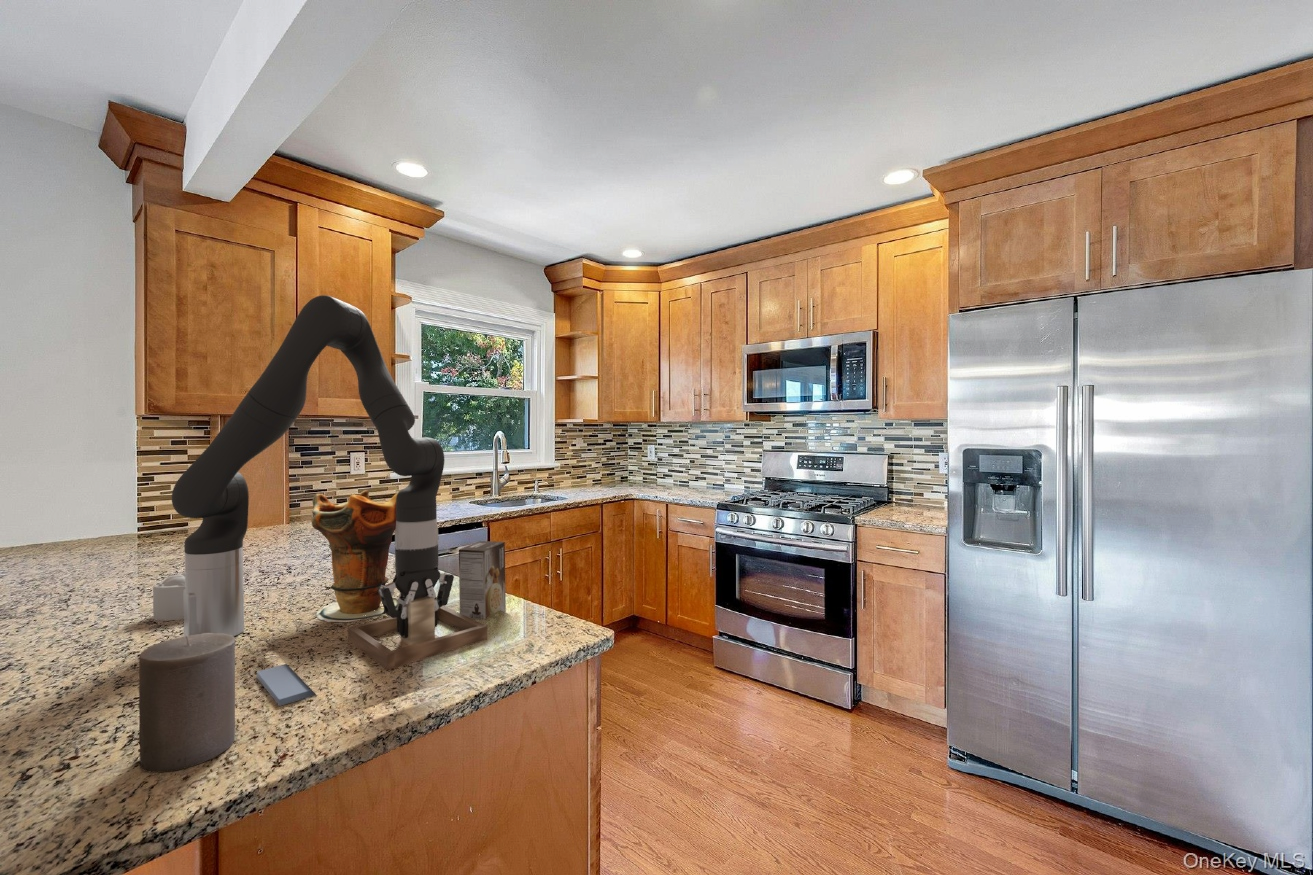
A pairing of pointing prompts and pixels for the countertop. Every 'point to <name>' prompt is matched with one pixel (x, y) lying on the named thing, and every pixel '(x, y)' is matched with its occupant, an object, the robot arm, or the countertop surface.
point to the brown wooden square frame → (422, 650)
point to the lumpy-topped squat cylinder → (169, 598)
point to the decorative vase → (356, 553)
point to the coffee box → (482, 579)
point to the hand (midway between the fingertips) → (417, 632)
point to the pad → (284, 684)
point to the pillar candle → (186, 701)
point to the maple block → (420, 620)
